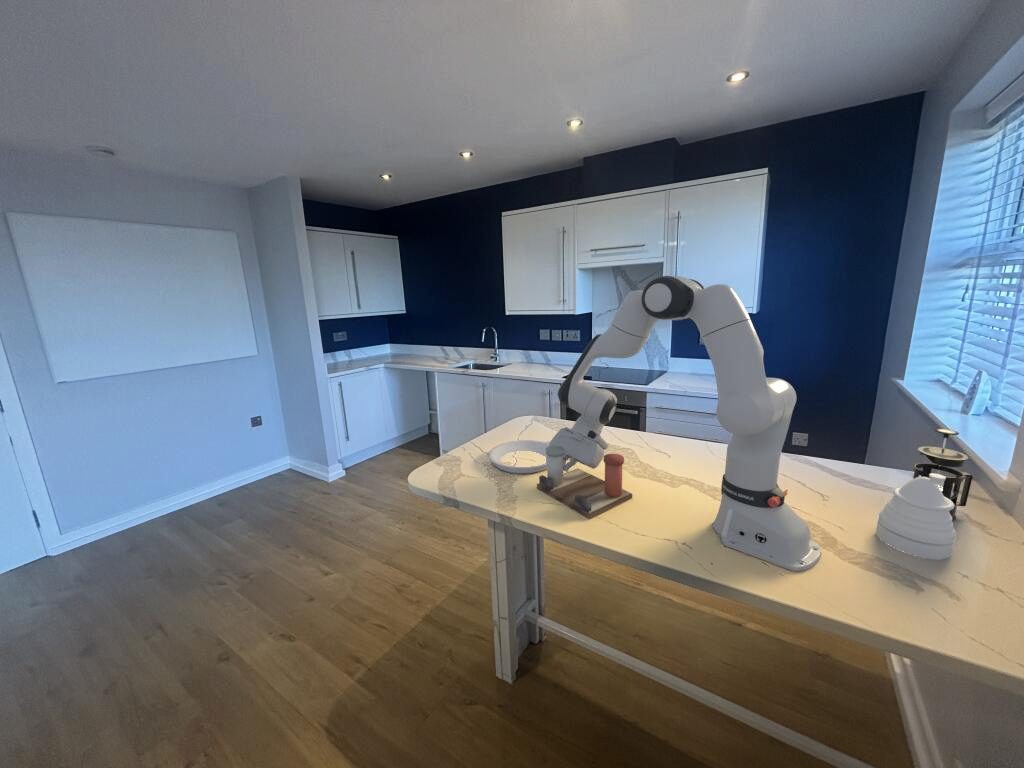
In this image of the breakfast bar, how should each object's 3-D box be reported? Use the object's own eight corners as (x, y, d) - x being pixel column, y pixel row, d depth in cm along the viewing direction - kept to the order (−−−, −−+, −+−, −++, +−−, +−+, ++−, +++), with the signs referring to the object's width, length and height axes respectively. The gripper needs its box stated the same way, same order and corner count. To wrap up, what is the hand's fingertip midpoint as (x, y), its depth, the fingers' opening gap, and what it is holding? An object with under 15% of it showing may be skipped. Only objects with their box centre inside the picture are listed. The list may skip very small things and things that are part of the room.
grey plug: (568, 482, 127) (568, 449, 125) (554, 488, 124) (554, 454, 121) (556, 476, 132) (555, 444, 129) (542, 481, 129) (541, 448, 126)
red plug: (627, 493, 119) (628, 458, 117) (614, 499, 116) (614, 463, 113) (612, 486, 124) (612, 452, 121) (599, 491, 121) (599, 457, 118)
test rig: (632, 498, 120) (632, 484, 119) (589, 519, 110) (589, 504, 109) (577, 472, 138) (577, 460, 137) (537, 488, 128) (536, 475, 127)
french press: (914, 518, 105) (931, 434, 100) (894, 500, 113) (909, 423, 108) (974, 525, 101) (995, 438, 96) (948, 506, 110) (967, 426, 104)
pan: (475, 462, 151) (474, 450, 150) (545, 435, 176) (545, 425, 175) (522, 485, 132) (522, 471, 131) (594, 451, 157) (594, 440, 155)
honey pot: (965, 552, 91) (983, 479, 87) (927, 565, 88) (944, 489, 84) (898, 522, 103) (911, 457, 99) (862, 532, 100) (874, 465, 96)
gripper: (558, 421, 139) (536, 455, 135) (603, 437, 122) (579, 476, 119) (567, 430, 142) (547, 463, 139) (612, 447, 126) (590, 485, 123)
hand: (562, 469), depth 129 cm, fingers closed, pressing on grey plug
